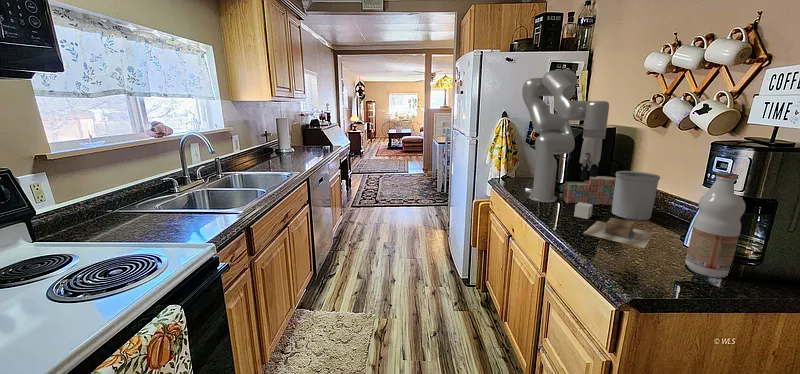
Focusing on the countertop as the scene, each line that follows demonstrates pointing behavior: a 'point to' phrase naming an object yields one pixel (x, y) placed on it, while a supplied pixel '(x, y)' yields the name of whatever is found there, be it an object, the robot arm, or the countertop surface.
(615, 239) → the board
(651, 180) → the utensil holder
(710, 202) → the fruit juice
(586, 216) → the cream block
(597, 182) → the stack of blocks
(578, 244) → the countertop surface
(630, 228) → the walnut foundation
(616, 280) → the countertop surface
